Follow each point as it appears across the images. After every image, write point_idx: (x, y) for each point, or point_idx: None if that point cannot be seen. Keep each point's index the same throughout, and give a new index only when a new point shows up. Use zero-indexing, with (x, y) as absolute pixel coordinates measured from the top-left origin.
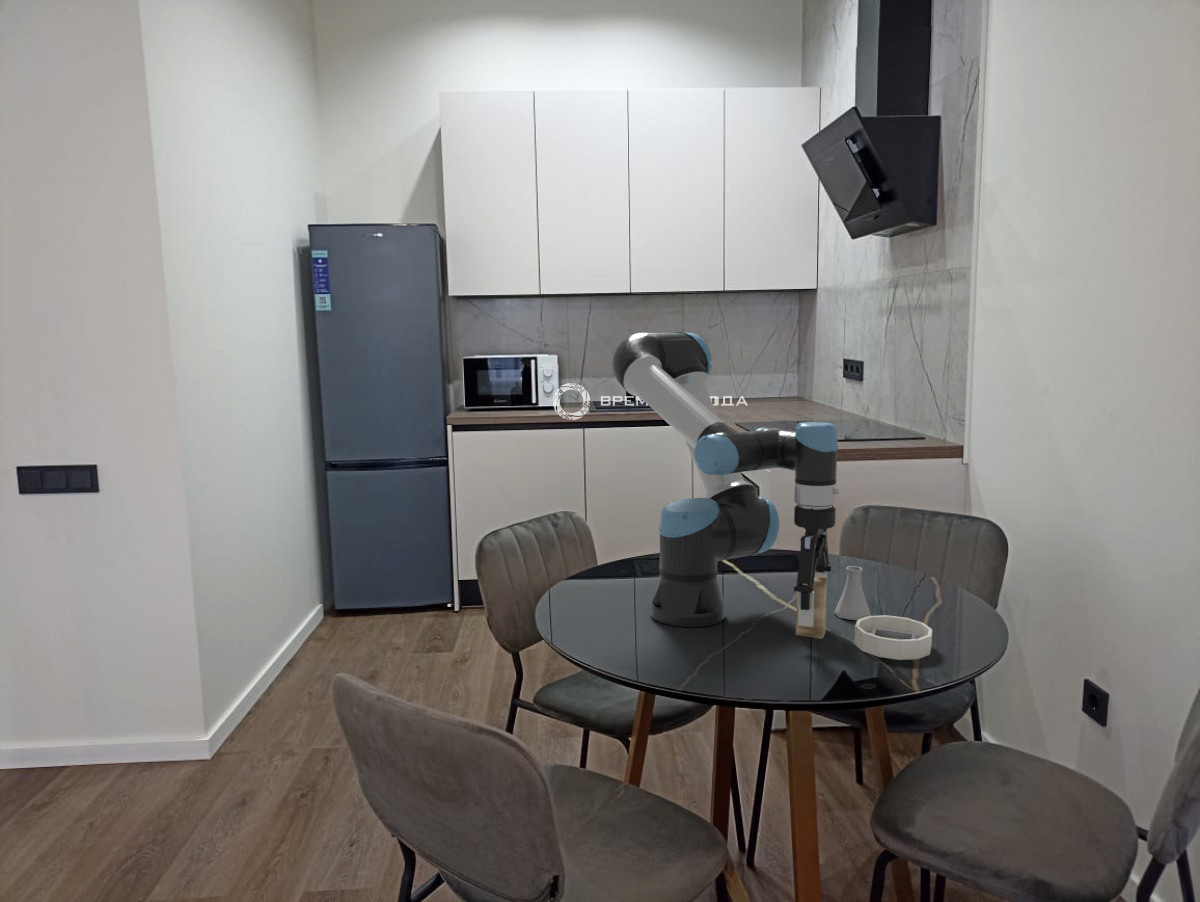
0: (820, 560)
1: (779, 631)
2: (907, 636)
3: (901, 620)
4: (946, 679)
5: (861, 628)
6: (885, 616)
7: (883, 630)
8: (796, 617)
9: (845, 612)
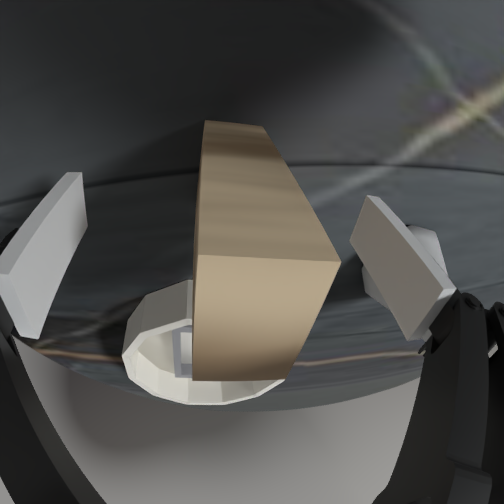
0: (427, 397)
1: (227, 60)
2: None
3: None
4: (95, 379)
5: (169, 330)
6: None
7: None
8: (203, 139)
9: None
